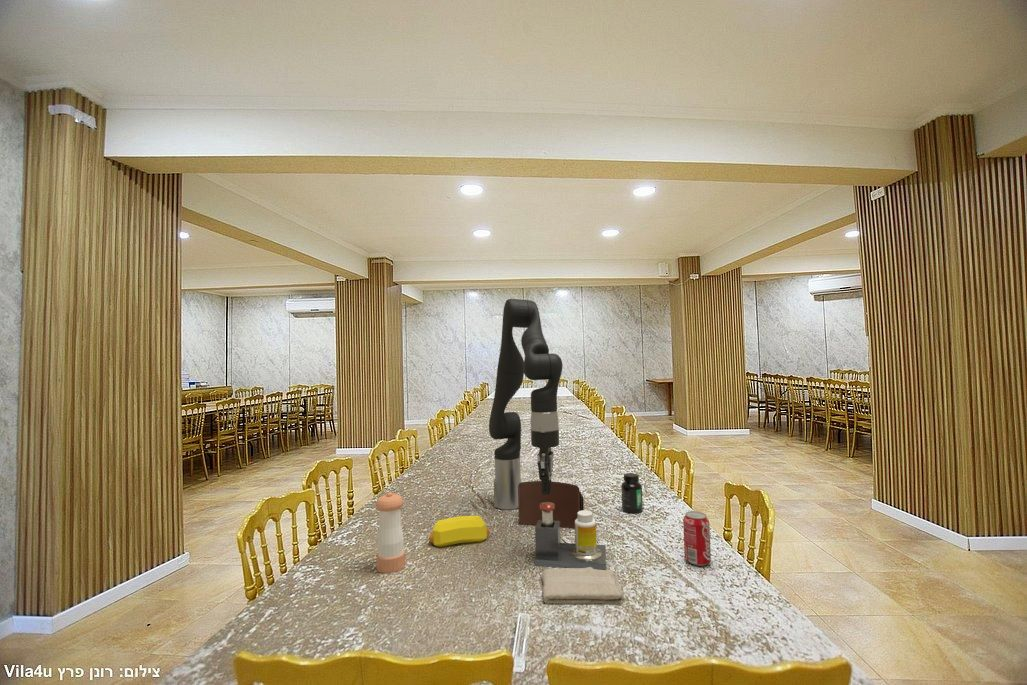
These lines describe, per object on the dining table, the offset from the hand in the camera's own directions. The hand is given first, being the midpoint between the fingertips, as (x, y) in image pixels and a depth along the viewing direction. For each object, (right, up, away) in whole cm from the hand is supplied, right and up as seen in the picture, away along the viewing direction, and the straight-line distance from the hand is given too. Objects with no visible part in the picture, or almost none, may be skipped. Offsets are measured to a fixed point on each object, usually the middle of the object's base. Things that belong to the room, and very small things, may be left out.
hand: (546, 492), depth 121 cm
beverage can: (+38, -16, -6) cm, 42 cm away
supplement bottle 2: (+32, -17, +32) cm, 48 cm away
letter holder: (+4, -18, +25) cm, 31 cm away
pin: (0, -11, 0) cm, 11 cm away
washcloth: (+7, -17, -18) cm, 26 cm away
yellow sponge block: (-25, -18, +12) cm, 33 cm away
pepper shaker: (-41, -18, -3) cm, 45 cm away
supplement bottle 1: (+10, -15, -2) cm, 18 cm away
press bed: (+6, -17, -2) cm, 18 cm away
